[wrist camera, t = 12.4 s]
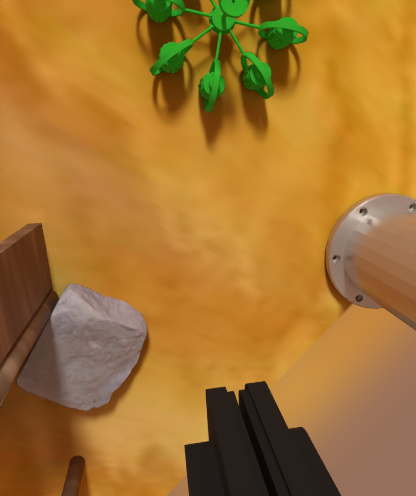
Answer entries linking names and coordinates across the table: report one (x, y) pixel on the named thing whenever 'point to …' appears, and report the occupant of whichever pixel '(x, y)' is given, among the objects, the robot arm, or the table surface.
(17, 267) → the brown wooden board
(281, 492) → the robot arm
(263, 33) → the chandelier
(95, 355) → the stone block
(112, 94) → the table surface
